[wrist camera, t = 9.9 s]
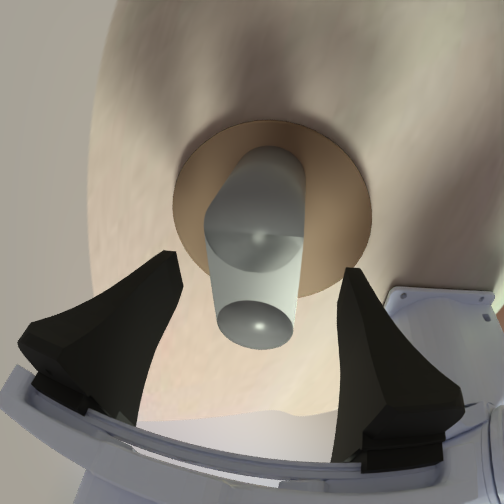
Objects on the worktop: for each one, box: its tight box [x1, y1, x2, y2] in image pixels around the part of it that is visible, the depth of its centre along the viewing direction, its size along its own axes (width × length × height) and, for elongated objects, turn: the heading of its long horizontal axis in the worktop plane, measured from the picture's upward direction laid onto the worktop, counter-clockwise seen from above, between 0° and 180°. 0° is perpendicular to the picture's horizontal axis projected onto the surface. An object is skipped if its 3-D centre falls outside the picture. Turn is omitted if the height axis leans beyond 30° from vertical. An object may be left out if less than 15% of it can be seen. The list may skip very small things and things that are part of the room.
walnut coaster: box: [173, 120, 372, 298], centre depth 16 cm, size 11×11×1 cm
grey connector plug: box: [204, 146, 306, 350], centre depth 14 cm, size 11×4×5 cm, turn 1°
